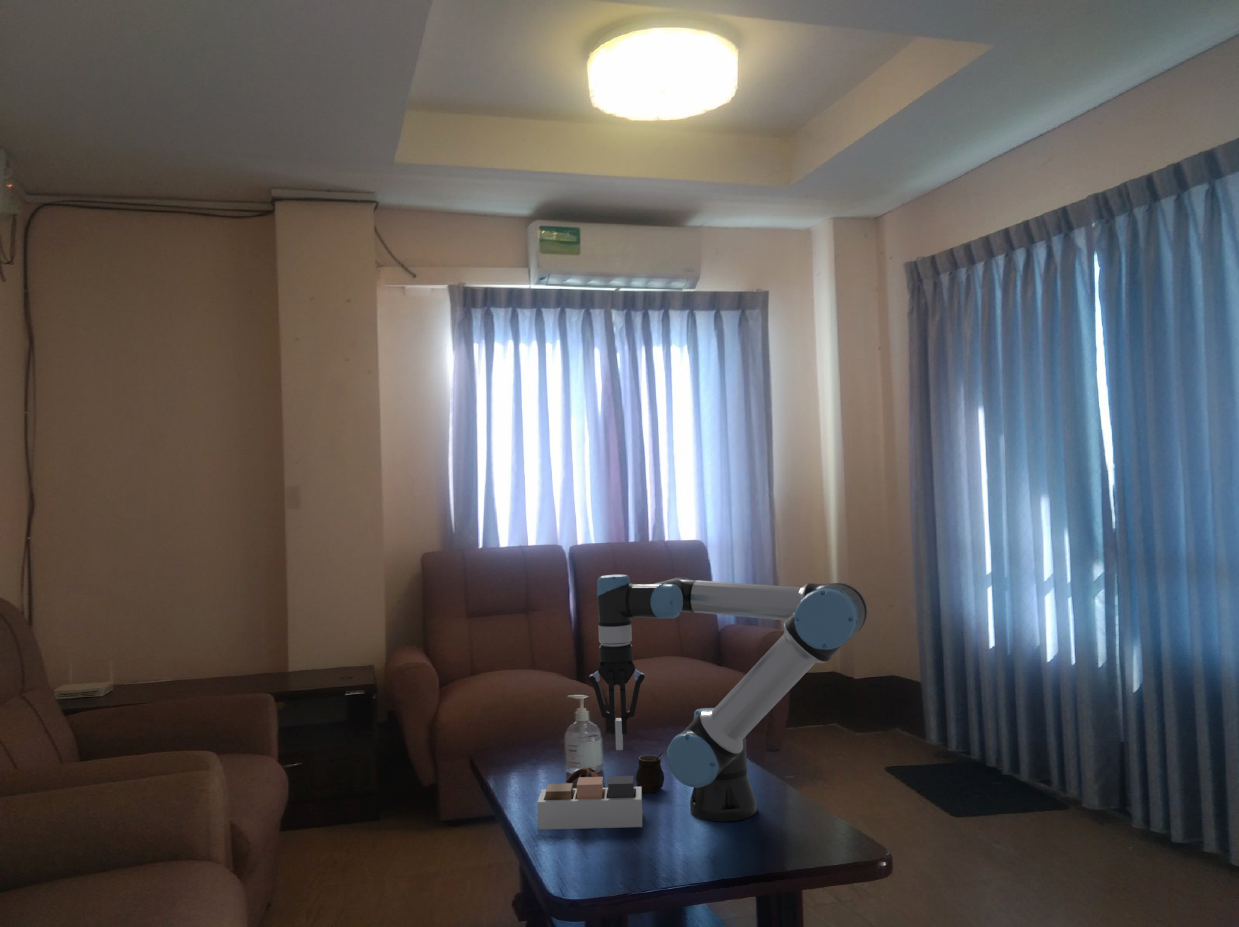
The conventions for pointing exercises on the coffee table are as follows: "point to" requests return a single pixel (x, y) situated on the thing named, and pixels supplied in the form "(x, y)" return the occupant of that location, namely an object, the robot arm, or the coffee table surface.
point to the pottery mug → (582, 775)
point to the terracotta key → (590, 788)
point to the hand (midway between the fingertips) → (619, 748)
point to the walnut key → (559, 791)
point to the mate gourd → (650, 773)
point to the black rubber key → (621, 787)
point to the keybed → (590, 812)
